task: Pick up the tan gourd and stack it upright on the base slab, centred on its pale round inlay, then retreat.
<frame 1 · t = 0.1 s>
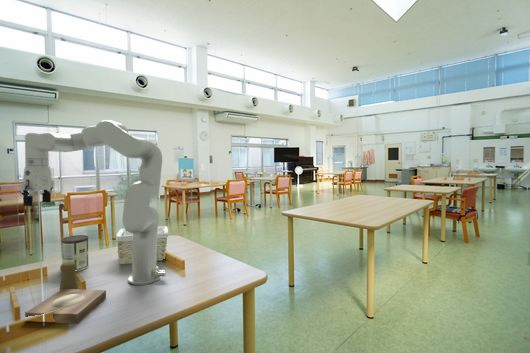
hand: (37, 203, 117), 31 cm above the table, fingers open, 9 cm apart
storage basket: (143, 258, 145), on the table
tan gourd: (68, 291, 108), on the table
base: (69, 309, 95), on the table
coffee can: (75, 268, 129), on the table
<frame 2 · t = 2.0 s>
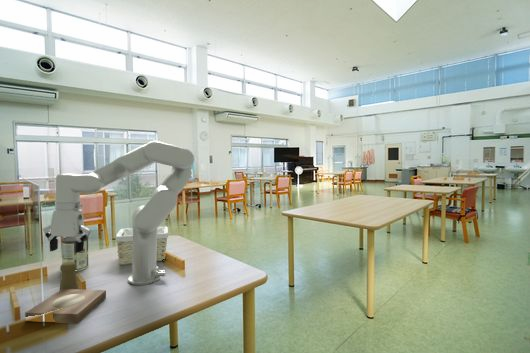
hand: (66, 250, 106), 16 cm above the table, fingers open, 9 cm apart
nothing on the table moved.
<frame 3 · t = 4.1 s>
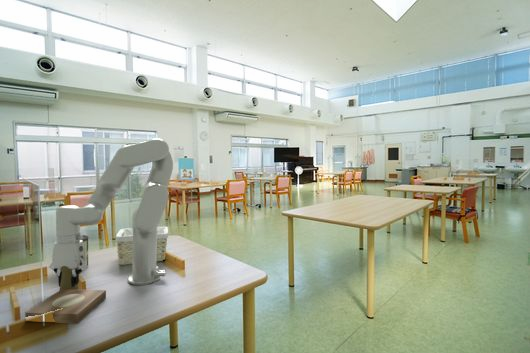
hand: (68, 284, 107), 2 cm above the table, fingers closed on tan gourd, 4 cm apart
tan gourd: (68, 291, 108), on the table, touching gripper
everything else where it was.
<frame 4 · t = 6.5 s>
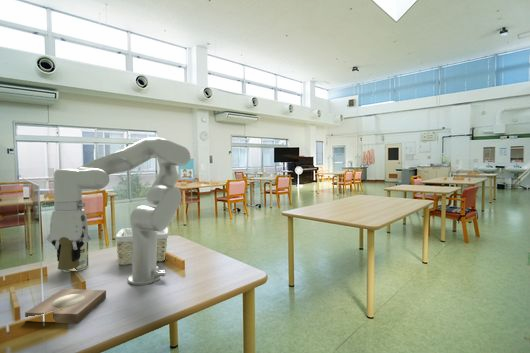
hand: (68, 259, 94), 17 cm above the table, fingers closed on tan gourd, 4 cm apart
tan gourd: (68, 267, 94), point 15 cm above the table, touching gripper
everything else where it was.
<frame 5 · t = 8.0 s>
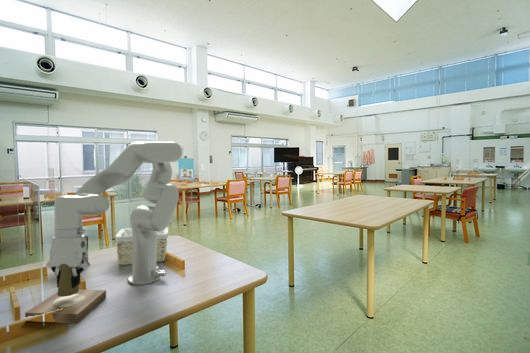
hand: (68, 285, 94), 8 cm above the table, fingers closed on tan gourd, 4 cm apart
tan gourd: (68, 292, 94), point 6 cm above the table, touching gripper
when the fingers open (7 cm above the table, at t = 9.1 s): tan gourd drops 1 cm, resting on base.
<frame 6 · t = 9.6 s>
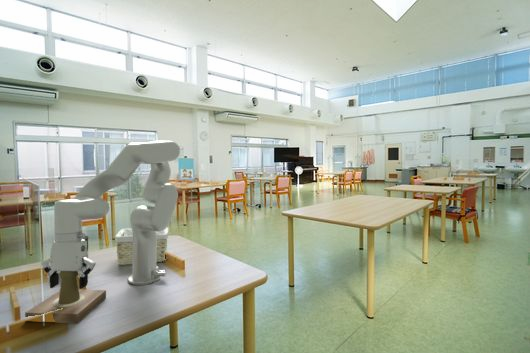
hand: (68, 286, 94), 8 cm above the table, fingers open, 9 cm apart
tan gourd: (69, 300, 95), point 3 cm above the table, touching base
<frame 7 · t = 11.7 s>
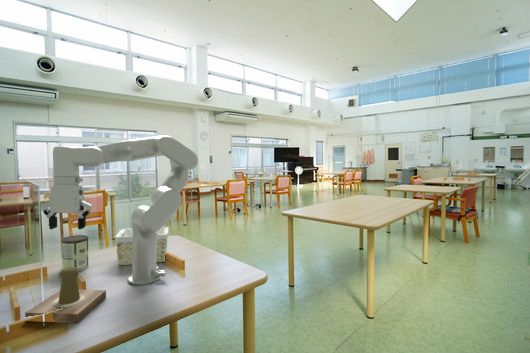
hand: (67, 228, 101), 26 cm above the table, fingers open, 9 cm apart
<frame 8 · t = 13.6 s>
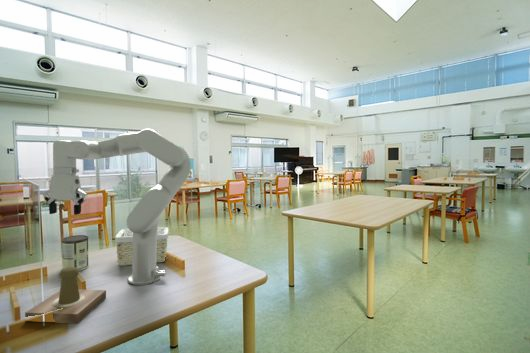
hand: (65, 213, 113), 28 cm above the table, fingers open, 9 cm apart
at the end: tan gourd inside the target area on the base (0.1 cm from its centre), point 2.9 cm above the base's base; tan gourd tilted 0°; the gripper is holding nothing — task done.
